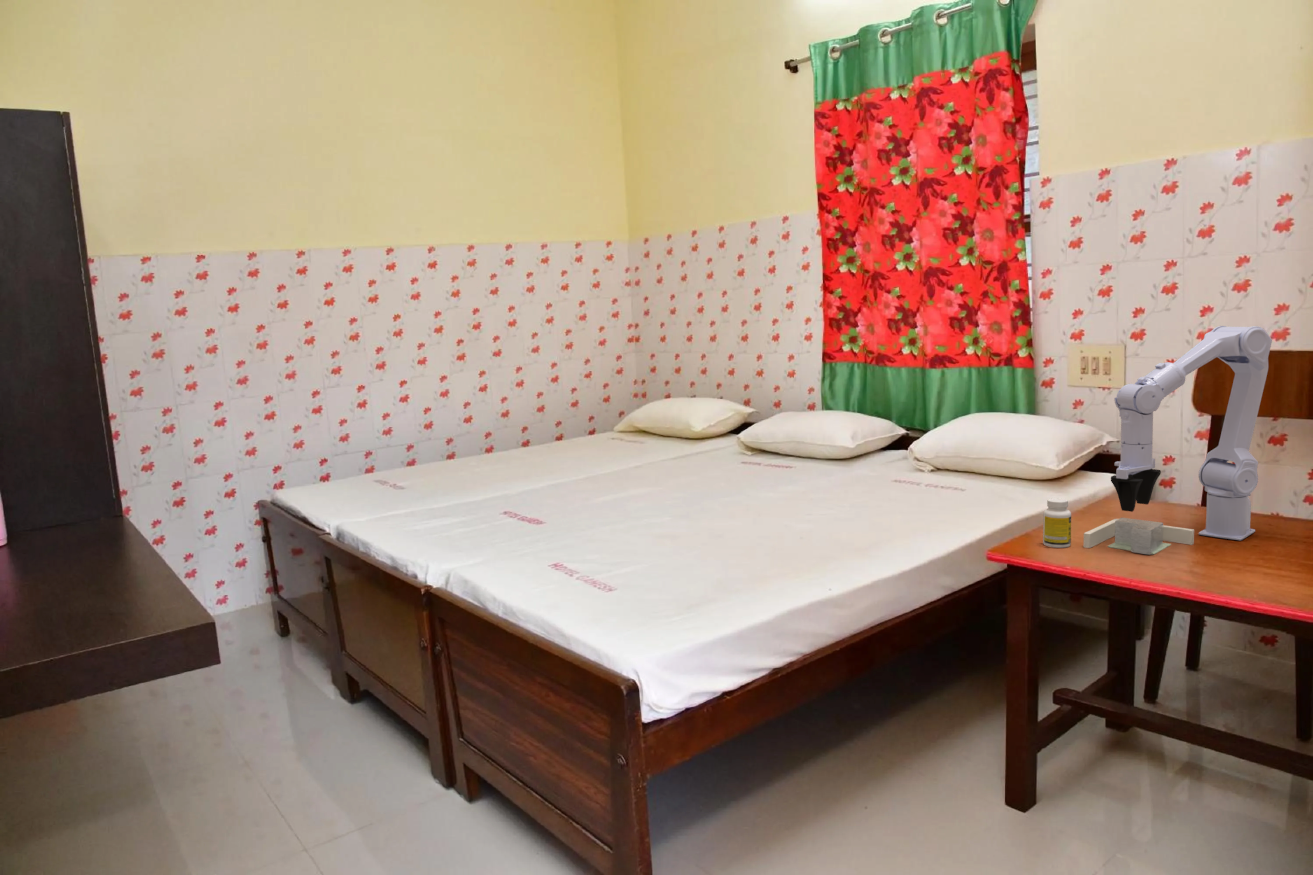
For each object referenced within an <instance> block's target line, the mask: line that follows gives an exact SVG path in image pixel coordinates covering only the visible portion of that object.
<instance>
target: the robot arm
mask: <svg viewBox="0 0 1313 875" xmlns="http://www.w3.org/2000/svg"><path fill="white" fill-rule="evenodd" d="M1272 343H1273V339H1272V338H1271V336H1270V335H1269V334H1268V333H1267V330H1265V329H1264V328H1263V327H1261V326H1258V325H1255V326H1226V325H1219V326H1216V327H1214V328H1213V329H1212V330H1211V331H1208V332H1207V333H1205V334H1204V336H1203V339H1202V340H1201V341H1200V342H1198V343H1197V344H1195V346H1193V347H1191V349H1190V350H1188V351H1187V352H1186V353H1184V354H1183V355H1182V356H1180V357H1179V358H1178V359H1177V360H1176V361H1174V362H1168V361H1165V362H1159V363H1157V364H1155V366H1154V367H1155V368H1154V369H1153V370H1151V371H1150V372H1149V373H1147V374H1146V375H1143V376H1140V377H1138V378H1137V380H1136V382H1135V383H1128V384H1125V385H1123V386H1121V388H1119V390H1118V392H1117V394H1116V397H1114V400H1113V401H1114V404H1115V406H1116V408H1117V409H1118V411H1119V417H1120V420H1121V421H1120V460H1119V461H1118V460H1117V461H1115V462H1114V466H1115V467H1117V468H1116V472H1115V475H1112V476H1110V482H1111V484H1112V485H1113V487H1114V489H1115V491H1116V493H1117V496H1118V501H1119V504H1120V508H1121V511H1124V512H1131V513H1133V512H1134V511H1135V508H1136V504H1140V505H1149V503H1150V500H1151V497H1152V492H1153V490H1154V487H1155V484H1156V483H1157V480H1158V478H1159V477H1160V475H1161V473H1162V471H1161V469H1157V468H1156V458H1153V441H1154V440H1153V439H1154V438H1153V435H1154V433H1153V432H1154V412H1156V411H1157V410H1158V409H1159V407H1160V406H1161V403H1162V401H1163V400H1164V398H1166V397H1168V396H1169V395H1170V394H1171V393H1174V392H1175V391H1176V390H1177V389H1179V388H1181V387H1182V386H1183V385H1184V384H1185V382H1186V376H1187V375H1189V374H1191V373H1192V372H1193V373H1194V372H1195V371H1196V370H1198V369H1199V368H1201V367H1203V366H1204V365H1206V364H1208V363H1209V362H1211V361H1213V360H1214V359H1216V358H1218V359H1219V360H1221V361H1222V362H1224V363H1225V364H1226V365H1228V366H1229V367H1230V368H1231V369H1232V371H1233V372H1234V377H1233V381H1232V382H1233V383H1232V386H1231V390H1230V395H1229V399H1228V402H1227V403H1228V404H1227V407H1226V411H1225V415H1224V420H1223V424H1222V429H1221V434H1220V438H1219V441H1218V445H1217V446H1216V447H1215V448H1213V449H1212V450H1210V451H1209V452H1207V454H1206V457H1205V460H1204V462H1203V463H1202V464H1201V466H1200V468H1199V471H1198V480H1199V482H1200V484H1201V485H1202V486H1203V487H1204V491H1205V492H1207V493H1206V516H1205V518H1206V519H1205V528H1204V529H1202V530H1201V531H1199V532H1198V535H1199V536H1206V537H1213V538H1219V539H1226V540H1227V539H1228V540H1235V541H1243V540H1244V539H1246V538H1247V537H1249V536H1250V535H1252V534H1254V533H1255V532H1256V529H1254V528H1251V518H1252V516H1251V514H1252V513H1251V512H1252V501H1251V499H1250V498H1249V497H1250V496H1252V495H1251V494H1252V493H1253V492H1254V490H1255V489H1256V488H1257V486H1258V482H1259V475H1258V465H1259V461H1258V459H1256V458H1255V457H1254V455H1253V454H1252V453H1251V451H1250V449H1251V444H1252V439H1253V435H1254V431H1255V427H1256V424H1257V418H1258V414H1259V410H1260V405H1261V401H1262V397H1263V392H1264V389H1265V386H1266V381H1267V375H1268V372H1269V355H1270V351H1271V347H1272ZM1229 461H1230V462H1229ZM1231 462H1232V463H1231ZM1154 468H1156V469H1154Z"/></svg>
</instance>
